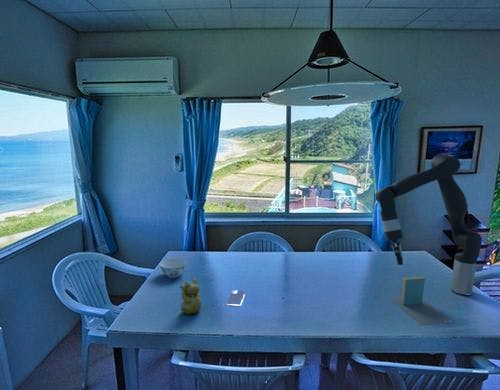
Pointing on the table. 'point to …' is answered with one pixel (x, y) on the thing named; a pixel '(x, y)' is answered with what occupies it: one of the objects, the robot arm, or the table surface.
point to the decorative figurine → (190, 297)
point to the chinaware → (173, 266)
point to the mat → (422, 313)
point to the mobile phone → (236, 298)
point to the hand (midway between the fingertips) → (400, 263)
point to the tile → (412, 290)
